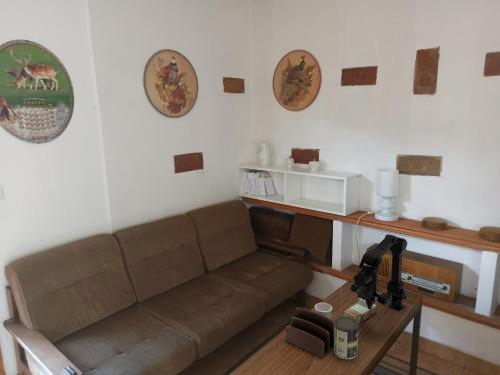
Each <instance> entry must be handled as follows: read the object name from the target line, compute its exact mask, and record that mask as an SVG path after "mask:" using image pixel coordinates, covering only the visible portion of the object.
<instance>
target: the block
mask: <svg viewBox="0 0 500 375" xmlns="http://www.w3.org/2000/svg"><path fill="white" fill-rule="evenodd" d="M343 316H345V317H351V318H353V319H355V320H356V321H357V322H358V324H360V323H361V321H360V320H361V314H359V313H357V312H355V311H353V310H351V309H348V308H347V309H345V310H344V311H343Z"/></svg>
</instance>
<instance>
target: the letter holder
mask: <svg viewBox="0 0 500 375" xmlns="http://www.w3.org/2000/svg"><path fill="white" fill-rule="evenodd" d="M295 311H296V313H295V314H296V315H295V316H296V317H295V316H292V317H291V319H290V323H291V324H290V326H289V325H288V326H287V325H286V326H285V342H288V343H291V344H293V346H294V345H295V346H297V347H298V348H301V349H303V350H305V351H307V352H310V353H311V354H313V355H315V356H318V357H320V358H322V359H325V357H326V356H327V355H329V353H330V352H331V351H332V350H334V320H332V319H331V318H330V319H329V318H327V317H325V316H323V315H320V314H318V313H316V311H312V310H310V309H306V308H303V307H299V306H298V307H296V310H295Z"/></svg>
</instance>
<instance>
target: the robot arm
mask: <svg viewBox="0 0 500 375" xmlns="http://www.w3.org/2000/svg"><path fill="white" fill-rule="evenodd" d="M407 247H408V241H407V239H406V238H404V237H399V236H396V235H393V234H390V233H388V234H385V236H384V238H383V239H382V240H381V241H380V242H379V243H378V244H377V245H376V246H375V247H374V248H372V249H368V250H367V251H366V252H364V254H363V255H362V258H361V260H360V263H359V265H358V268H359V269H361V270H359V271H357V273H356V274H355V275H354V276H353V282H354V283H352V284H351V285H350V287H349V288H350V291H351V292H353V293H356V297H357V298H358V299H359V298H361V299H363V300H365V301H366V304H367V307H368V309H369V310H370V309H371V308H372V306H373V305H374V304H375V303H376V301H377V302H378V303H379V304H380V305H383V306H388V307H389V308H391V309H394V310H396V311H398V312H400V311H401V310H402V309H404V308H406V305H404V303H403V302H404V300H407V298H408V291H406V289H405V283H404V282H403V280H402V270H403V268H402V267H403V254H404V252H406V250H407ZM388 251H389V252H390V253H391V271H390V272H391V273H390V274H391V275H390V280H389V281H388V282H387V283H386V292H387V293H386V292H383V293H380V292H379V290H380V289H379V288H378V284H379V283H380V280H379V279H378V276H379V275H378V274H379V269H380V268H381V267H380V266H381V264H382V262H383V257H384V255H385V254H386V253H387V252H388Z"/></svg>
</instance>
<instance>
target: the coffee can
mask: <svg viewBox="0 0 500 375" xmlns="http://www.w3.org/2000/svg"><path fill="white" fill-rule="evenodd" d="M333 322H334V348H333V353H334V354H335V356H337V357H338V358H340V359H343V360H353V359H356V357H357V356H358V348H359V347H358V346H359V345H358V344H359V340H358V339H359V327H360V326H359V324H360V323H358V322H357V321H356V320H355V319H353V318H351V317H345V316H344V315H343V316H338V317H336V318H335V319H334V320H333Z"/></svg>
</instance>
